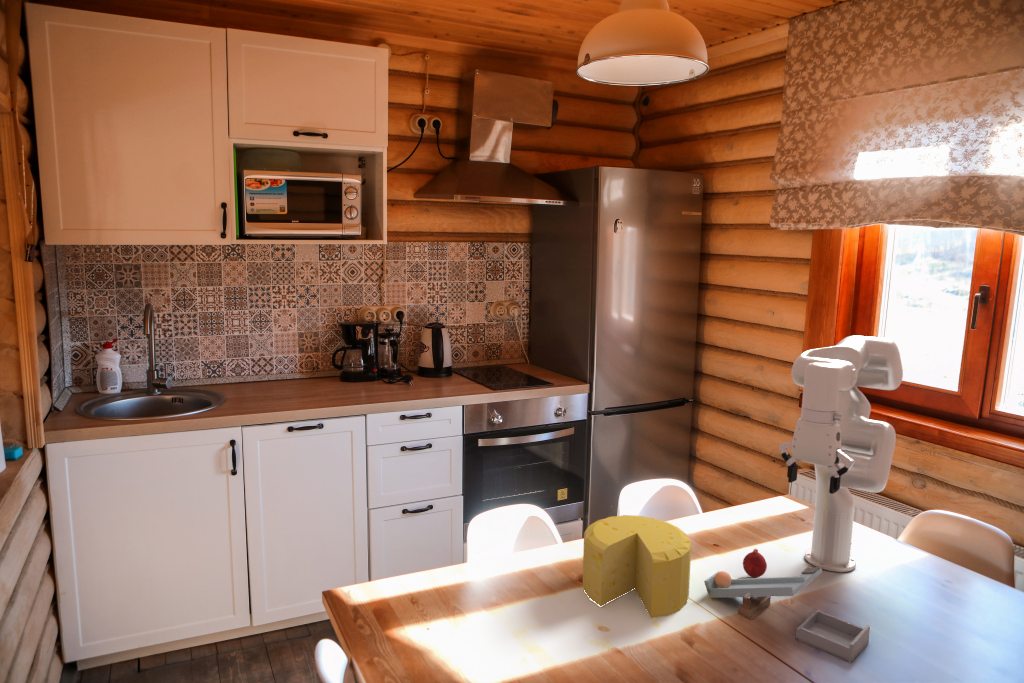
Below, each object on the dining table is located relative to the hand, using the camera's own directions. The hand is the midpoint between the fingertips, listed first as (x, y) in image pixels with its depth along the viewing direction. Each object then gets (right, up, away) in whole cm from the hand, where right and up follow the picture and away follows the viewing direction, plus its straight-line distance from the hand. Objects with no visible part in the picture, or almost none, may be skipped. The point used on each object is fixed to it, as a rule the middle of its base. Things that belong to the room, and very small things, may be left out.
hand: (812, 486), depth 160 cm
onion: (-8, -27, +15) cm, 32 cm away
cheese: (-40, -28, +9) cm, 50 cm away
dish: (-1, -31, -12) cm, 33 cm away
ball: (-18, -26, +5) cm, 32 cm away
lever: (-11, -24, +2) cm, 27 cm away
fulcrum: (-13, -29, +1) cm, 32 cm away
